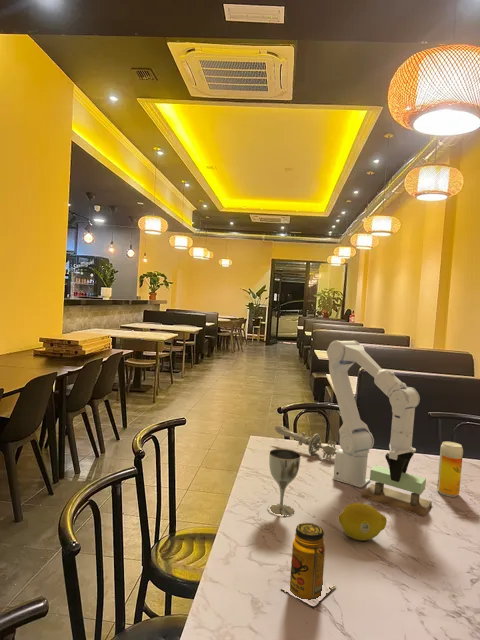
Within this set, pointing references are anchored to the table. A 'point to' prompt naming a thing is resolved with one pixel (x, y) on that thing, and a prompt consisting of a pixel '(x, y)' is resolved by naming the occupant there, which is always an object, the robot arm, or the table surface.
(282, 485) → the wine glass
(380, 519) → the lemon
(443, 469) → the beer can
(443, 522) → the table surface
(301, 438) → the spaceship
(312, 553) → the condiment
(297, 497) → the table surface
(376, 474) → the shelf board
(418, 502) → the peg base
